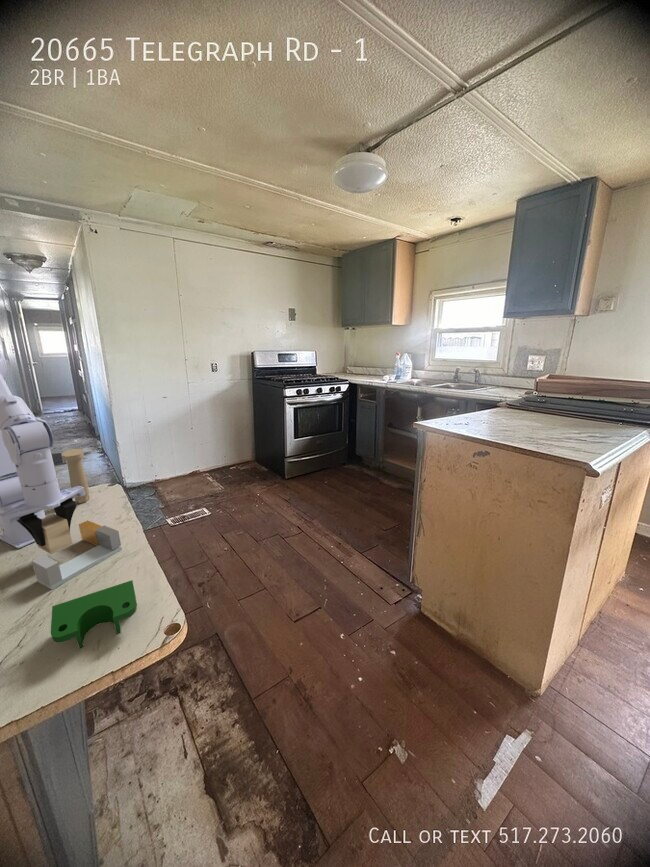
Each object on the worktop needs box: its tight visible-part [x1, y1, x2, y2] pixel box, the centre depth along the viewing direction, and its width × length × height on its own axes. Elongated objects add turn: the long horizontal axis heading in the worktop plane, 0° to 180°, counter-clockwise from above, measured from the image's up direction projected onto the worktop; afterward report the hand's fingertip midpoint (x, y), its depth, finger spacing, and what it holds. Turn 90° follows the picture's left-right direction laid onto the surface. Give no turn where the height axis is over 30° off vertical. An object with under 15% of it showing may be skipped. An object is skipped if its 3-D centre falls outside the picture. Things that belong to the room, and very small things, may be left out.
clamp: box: [50, 579, 138, 649], centre depth 55 cm, size 12×6×9 cm, turn 116°
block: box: [37, 513, 73, 555], centre depth 72 cm, size 5×4×6 cm
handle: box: [61, 448, 90, 504], centre depth 96 cm, size 5×6×15 cm
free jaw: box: [78, 520, 122, 550], centre depth 77 cm, size 12×2×4 cm, turn 64°
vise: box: [31, 545, 123, 590], centre depth 71 cm, size 5×14×5 cm, turn 154°
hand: (53, 538), depth 72 cm, fingers closed on block, 4 cm apart
